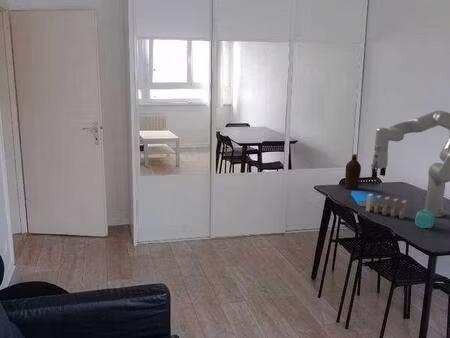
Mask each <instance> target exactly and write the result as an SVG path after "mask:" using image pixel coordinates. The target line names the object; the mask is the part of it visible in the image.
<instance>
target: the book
mask: <svg viewBox="0 0 450 338" xmlns="http://www.w3.org/2000/svg"><path fill="white" fill-rule="evenodd" d="M369 194H373V200H372V208H374V206H375V198H376V196H378V195H380V194H379V193H378V192H377V191H364V190H351V192H350V195H351V197H352V199H354V201H355V202H356V204H357V206H359V207H364V208H366V203H367V195H369ZM383 202H384V198H383V197H382V196H381V204H380V209H381V208H382V209H383Z"/></svg>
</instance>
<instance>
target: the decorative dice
mask: <svg viewBox="0 0 450 338" xmlns="http://www.w3.org/2000/svg"><path fill="white" fill-rule="evenodd" d="M434 222H435V217H434V214H433V213H432V212H429V211H422V210H418V211H417V212H416V215H415V218H414V224H415V225H416V227H418V228H421V229H425V228H429V229H431V228H433V225H434Z"/></svg>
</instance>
